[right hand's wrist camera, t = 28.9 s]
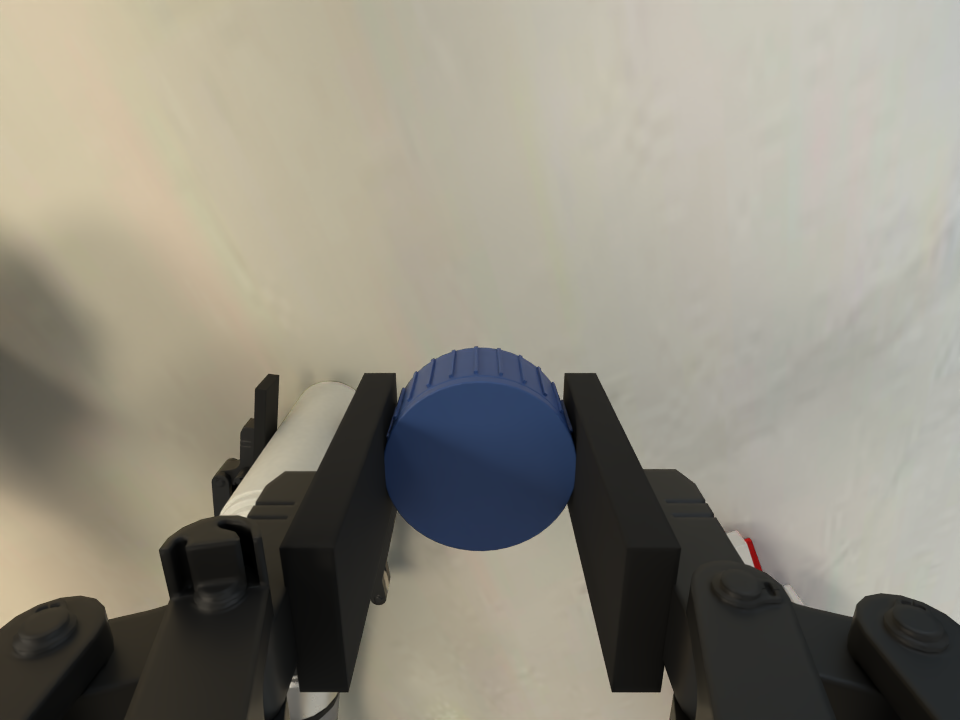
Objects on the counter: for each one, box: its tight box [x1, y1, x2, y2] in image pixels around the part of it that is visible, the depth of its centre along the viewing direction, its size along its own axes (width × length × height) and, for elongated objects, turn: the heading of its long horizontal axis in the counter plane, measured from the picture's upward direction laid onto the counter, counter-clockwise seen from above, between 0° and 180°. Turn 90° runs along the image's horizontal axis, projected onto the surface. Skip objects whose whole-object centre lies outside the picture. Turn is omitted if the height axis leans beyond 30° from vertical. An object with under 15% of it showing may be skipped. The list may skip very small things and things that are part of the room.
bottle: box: [219, 381, 356, 518], centre depth 39 cm, size 6×6×21 cm
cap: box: [384, 346, 576, 551], centre depth 14 cm, size 4×4×2 cm
